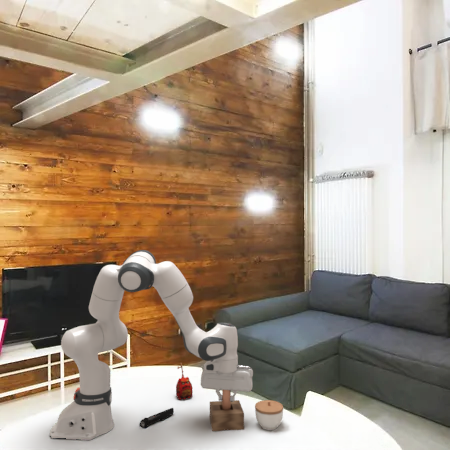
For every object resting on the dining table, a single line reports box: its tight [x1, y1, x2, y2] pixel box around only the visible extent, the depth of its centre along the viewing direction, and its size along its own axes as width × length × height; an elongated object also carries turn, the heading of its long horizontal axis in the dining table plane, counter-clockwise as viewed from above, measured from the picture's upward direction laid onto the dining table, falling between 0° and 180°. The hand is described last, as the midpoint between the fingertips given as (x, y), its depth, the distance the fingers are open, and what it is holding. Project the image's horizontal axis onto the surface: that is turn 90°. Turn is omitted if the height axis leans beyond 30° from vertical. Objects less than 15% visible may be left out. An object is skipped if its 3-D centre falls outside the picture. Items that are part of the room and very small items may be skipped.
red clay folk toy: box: [175, 362, 194, 401], centre depth 177 cm, size 8×7×15 cm
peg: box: [221, 390, 232, 410], centre depth 152 cm, size 3×3×10 cm
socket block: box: [209, 400, 245, 432], centre depth 152 cm, size 12×12×6 cm
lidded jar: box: [254, 399, 284, 431], centre depth 149 cm, size 11×11×9 cm
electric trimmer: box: [138, 407, 175, 429], centre depth 154 cm, size 4×16×3 cm, turn 138°
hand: (226, 400), depth 152 cm, fingers closed on peg, 3 cm apart
